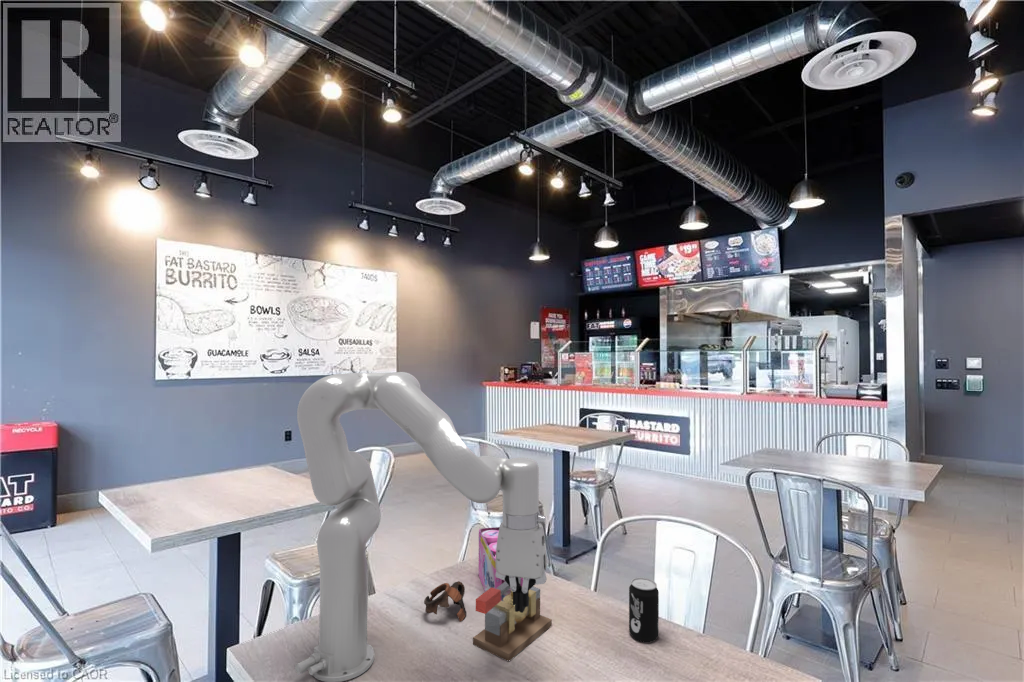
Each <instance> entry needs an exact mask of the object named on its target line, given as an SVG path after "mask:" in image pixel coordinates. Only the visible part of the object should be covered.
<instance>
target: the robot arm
mask: <svg viewBox="0 0 1024 682" xmlns="http://www.w3.org/2000/svg"><path fill="white" fill-rule="evenodd" d="M421 386H422V385H421V384H420V381H419V380H418V379H417V378H416V377H415V376H414V374H413V375H412V374H411V373H409V372H406V371H397V372H348V373H335V374H330V375H325V376H324V377H322V378H319V379H317V380H316V381H315V382H313V383H312V384H311V385H310V386H309V387H308V388H307V389H306V390H305V391H304V393H303V394H302V396H301V397H300V399H299V402H298V405H297V410H296V411H297V412H296V417H297V425H298V430H299V432H300V433H299V434H300V438H301V441H302V444H303V448H304V455H305V459H306V465H307V469H308V473H309V474H308V475H309V478H310V484H311V488H312V491H313V494H314V497H315V499H316V500H317V501H318V502H319V503H320V504H322V505H324V506H326V507H333V506H336V508H337V509H336V510H335V511H333V512H332V513H331V514H330V515H329V516H328V517H327V518H326V519H325V520H324V522H323V523H322V525H321V526H320V529H319V530H318V533H317V539H316V549H317V555H318V562H319V563H318V564H319V618H318V620H319V621H318V622H319V625H318V644H317V645H316V646H314V647H313V653H312V654H310V655H309V657H308V658H306V659H304V660H302V661H300V662H298V663H296V664H295V665H294V669H295V673H296V674H297V675H302V674H303V673H305V672H306V671H307V672H308V674H309V675H310V676H312V677H314V678H315V679H316V680H318V681H320V682H345V681H349V680H352V679H355V678H357V677H359V676H360V675H362V674H363V673H365V672H366V671H367V670H369V668H370V667H371V666H372V665H373V663H374V660H375V649H374V648H373V646H372V645H371V644H369V643H368V616H369V615H368V611H369V610H368V608H369V607H368V605H369V603H368V602H369V567H368V566H369V565H368V560H367V559H368V558H367V552H366V546H367V543H368V542H369V541H370V539H371V538H372V536H373V535H374V534H375V533H376V532H377V530H378V529H379V526H380V523H381V519H382V518H381V517H382V516H381V515H382V514H381V507H380V503H379V498H378V494H377V489H376V484H375V481H374V480H375V479H374V475H373V473H372V467H371V466H370V464H369V462H368V460H367V458H366V457H364V455H362V454H361V453H359V452H358V451H353V450H350V449H349V445H348V441H347V440H348V439H347V436H346V433H345V430H344V427H343V426H342V423H341V422H340V419H341V416H342V415H344V414H347V413H350V412H352V411H356V410H357V411H359V410H380V411H381V412H382V413H383V414H385V416H387V418H389V419H390V420H391V421H392V422H394V423H395V424H396V425H397V426H398V427H399V428H400V429H401V430H402V431H403V432H404V433H405V434H407V435H408V437H410V438H411V440H413V441H414V443H416V444H417V445H418V446H419V447H420V448H421V450H422V451H423V453H424V454H425V455H426V457H427V459H429V461H430V462H431V463H432V465H433V466H434V467H435V469H436V470H437V471H438V472H439V473H440V475H441V476H442V477H443V478H444V479H445V480H446V481H447V482H448V484H450V485H451V486H453V488H455V489H456V490H457V491H458V492H459V493H460V494H461V495H463V497H465V498H466V499H468V500H469V501H471V502H473V503H476V504H487V503H489V502H491V501H493V500H494V499H495V498H497V496H498V495H499V492H500V491H501V492H502V522H501V523H500V525H499V527H500V528H499V532H498V539H497V547H496V574H495V576H496V577H497V578H500V579H502V580H505V581H506V582H507V584H508V585H509V586H510V587H511V591H513V605H515V612H518V611H519V612H521V613H523V611H524V610H525V608H526V607H528V604H529V589H531V588H532V587H533V586H534V587H535V585H544V584H546V582H547V574H546V570H547V563H548V562H547V561H548V560H547V546H546V538H545V537H546V536H545V531H544V526H543V524H542V523H546V515H542V514H541V512H540V510H539V507H540V504H539V503H540V502H539V500H540V499H539V497H540V496H539V495H540V494H539V490H540V487H539V486H540V484H539V483H540V482H539V481H540V480H539V475H540V473H539V465H538V462H537V461H536V460H535V459H532V458H528V457H512V458H505V457H499V456H492V455H480V456H478V455H477V454H476V453H474V452H473V451H472V450H471V449H470V447H468V446H467V444H466V443H465V442H464V441H463V440H462V439H461V437H460V436H459V434H458V433H457V430H456V427H455V426H454V423H453V421H452V419H451V417H450V416H449V414H448V413H446V412H445V411H444V410H443V409H442V408H441V407H439V406H438V404H436V403H435V402H434V401H433V400H432V399H431V398H430V397H428V396H427V395H426V394H425V393H424V392H423V391H422V388H421ZM519 577H520V578H523V585H522V586H520V581H519Z"/></svg>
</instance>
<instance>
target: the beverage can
mask: <svg viewBox="0 0 1024 682" xmlns="http://www.w3.org/2000/svg"><path fill="white" fill-rule="evenodd" d="M628 594H629V595H628V632H629V634H630V635H631V636H632V638H633V639H634V640H636V641H638V642H640V643H645V644H646V643H647V644H649V643H653V642H656V640H657V638H659V635H660V633H659V632H660V631H659V625H660V624H659V622H660V620H659V619H660V618H659V615H660V613H659V608H660V607H659V606H660V605H659V601H660V600H659V597H660V596H659V589H658V586H657V583H656V581H655V580H653V579H650V578H647V577H635V578H632V579H631V581H630V584H629V587H628Z"/></svg>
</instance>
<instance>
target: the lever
mask: <svg viewBox="0 0 1024 682" xmlns="http://www.w3.org/2000/svg"><path fill="white" fill-rule="evenodd" d="M519 581H520V586H521V578H520V577H519ZM510 588H511V587H510V586H509V585H508V584H507V582H506V581H505V582H504V583H502V584H501V585H500V586H499V587H497V588H496V589H495V588H492V587H491V588H490V589H488V590H487V591H486V592H485V591H484V592H483V593H482V594H480V595H479V596H478V597H477V598H475V612H478V613H481V614H484V615H485V614H486V613H487V612H488V611H490V610H491V609H492V608H493V607H494V606H496V605H497V604H498V603H499V602H500V601H501V596H502V595H503V594H504V593H505V592H506V591H508V590H509V589H510Z"/></svg>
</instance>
